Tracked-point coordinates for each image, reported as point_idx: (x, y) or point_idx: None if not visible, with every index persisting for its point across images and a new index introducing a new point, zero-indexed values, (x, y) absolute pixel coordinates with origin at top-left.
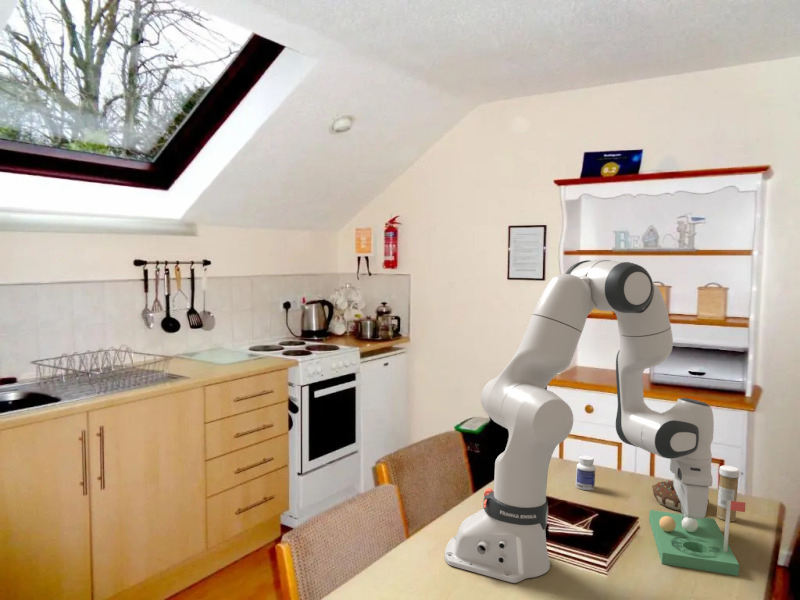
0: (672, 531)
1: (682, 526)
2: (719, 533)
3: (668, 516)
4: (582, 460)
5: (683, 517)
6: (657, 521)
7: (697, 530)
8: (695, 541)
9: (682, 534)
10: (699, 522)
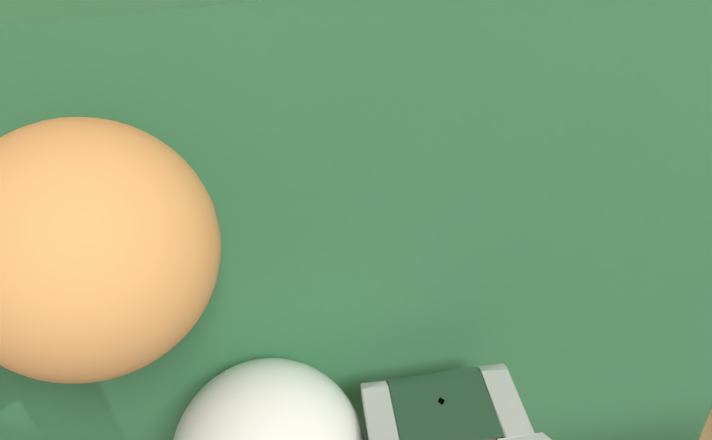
0: None
1: (232, 374)
2: None
3: (86, 346)
4: None
5: (400, 427)
6: (427, 54)
7: None
8: (14, 433)
9: None
10: (556, 437)
